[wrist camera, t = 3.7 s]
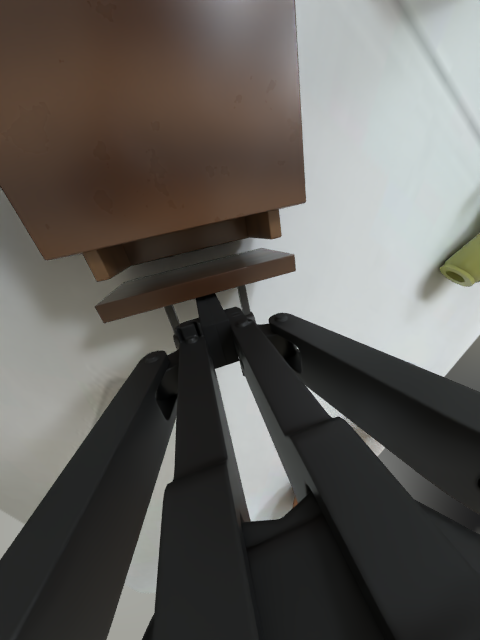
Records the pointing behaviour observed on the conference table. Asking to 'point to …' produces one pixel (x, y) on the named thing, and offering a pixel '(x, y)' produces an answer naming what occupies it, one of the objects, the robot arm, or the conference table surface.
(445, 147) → the conference table surface
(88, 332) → the conference table surface
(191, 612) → the robot arm
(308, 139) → the conference table surface
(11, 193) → the cabinet
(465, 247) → the cannon
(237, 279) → the drawer
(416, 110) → the conference table surface
